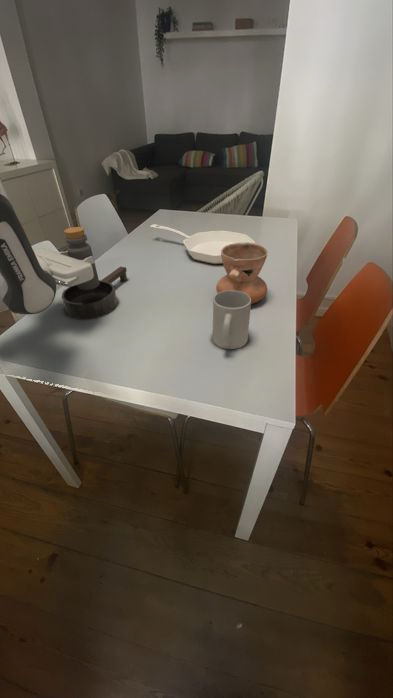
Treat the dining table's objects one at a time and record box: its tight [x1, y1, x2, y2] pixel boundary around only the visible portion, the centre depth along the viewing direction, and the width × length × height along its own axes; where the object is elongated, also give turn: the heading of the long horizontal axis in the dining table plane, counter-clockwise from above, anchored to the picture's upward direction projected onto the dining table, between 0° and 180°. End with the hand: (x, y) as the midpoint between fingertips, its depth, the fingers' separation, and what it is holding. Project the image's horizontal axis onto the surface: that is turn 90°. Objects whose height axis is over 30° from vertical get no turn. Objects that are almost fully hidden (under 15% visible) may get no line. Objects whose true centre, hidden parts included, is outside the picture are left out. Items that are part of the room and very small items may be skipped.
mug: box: [211, 290, 252, 350], centre depth 72 cm, size 12×8×11 cm
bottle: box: [63, 226, 100, 290], centre depth 82 cm, size 6×6×15 cm
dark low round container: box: [61, 279, 118, 320], centre depth 90 cm, size 14×14×4 cm
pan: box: [149, 223, 257, 265], centre depth 122 cm, size 25×44×6 cm, turn 59°
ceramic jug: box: [215, 242, 268, 305], centre depth 89 cm, size 18×14×14 cm
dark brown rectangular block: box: [100, 266, 128, 284], centre depth 99 cm, size 2×11×4 cm, turn 159°
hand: (83, 255), depth 83 cm, fingers closed on bottle, 6 cm apart
